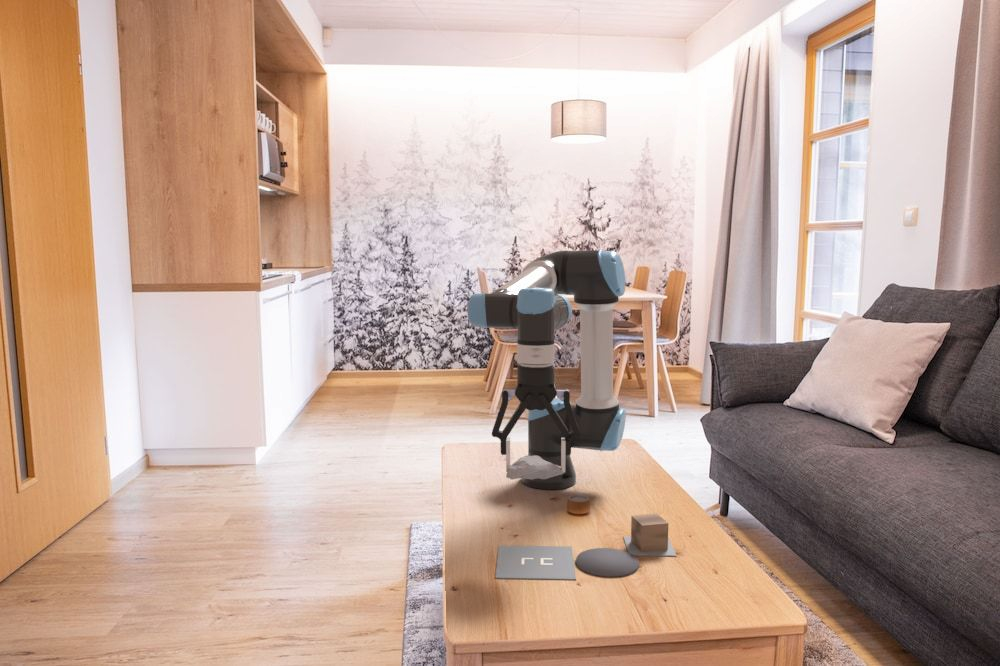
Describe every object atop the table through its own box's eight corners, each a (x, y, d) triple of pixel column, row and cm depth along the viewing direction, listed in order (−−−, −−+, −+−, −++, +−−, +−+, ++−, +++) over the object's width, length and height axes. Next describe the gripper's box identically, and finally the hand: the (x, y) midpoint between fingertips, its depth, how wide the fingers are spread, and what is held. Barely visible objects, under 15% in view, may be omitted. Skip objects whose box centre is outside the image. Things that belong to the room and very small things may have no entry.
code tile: (498, 546, 163) (498, 545, 163) (571, 547, 162) (571, 546, 162) (495, 578, 147) (495, 577, 147) (576, 579, 146) (576, 578, 146)
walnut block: (631, 541, 164) (631, 515, 164) (656, 539, 166) (656, 513, 165) (641, 552, 159) (642, 525, 158) (667, 549, 160) (668, 523, 159)
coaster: (574, 550, 160) (574, 547, 160) (634, 551, 160) (634, 548, 160) (578, 576, 148) (578, 573, 147) (643, 577, 147) (643, 574, 147)
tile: (623, 537, 167) (623, 536, 167) (667, 538, 167) (667, 537, 167) (629, 555, 157) (629, 554, 157) (676, 556, 157) (676, 555, 157)
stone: (571, 469, 155) (571, 452, 155) (549, 485, 144) (549, 468, 144) (527, 464, 160) (526, 447, 159) (502, 479, 149) (502, 462, 149)
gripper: (477, 367, 146) (478, 475, 149) (594, 367, 145) (593, 476, 148) (480, 361, 154) (481, 464, 156) (591, 361, 153) (590, 465, 155)
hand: (535, 470), depth 152 cm, fingers closed on stone, 11 cm apart
